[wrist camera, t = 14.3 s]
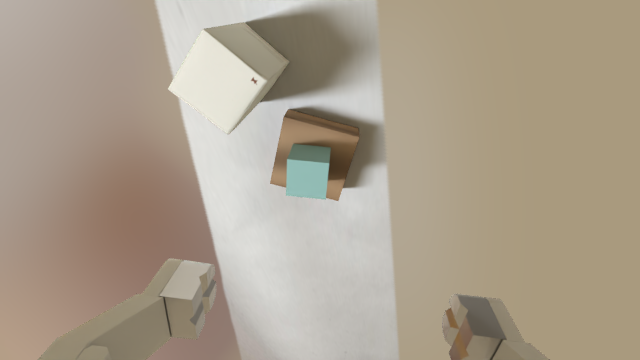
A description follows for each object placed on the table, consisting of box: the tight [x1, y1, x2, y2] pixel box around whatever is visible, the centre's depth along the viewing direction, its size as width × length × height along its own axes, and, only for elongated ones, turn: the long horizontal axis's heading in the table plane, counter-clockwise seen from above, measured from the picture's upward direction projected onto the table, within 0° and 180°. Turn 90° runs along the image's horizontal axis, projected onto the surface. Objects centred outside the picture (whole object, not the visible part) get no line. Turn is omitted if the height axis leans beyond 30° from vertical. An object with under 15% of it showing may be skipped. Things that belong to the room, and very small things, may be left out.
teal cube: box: [286, 144, 331, 199], centre depth 42 cm, size 5×5×5 cm
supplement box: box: [168, 22, 289, 134], centre depth 36 cm, size 7×7×13 cm
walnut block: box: [270, 109, 359, 201], centre depth 45 cm, size 10×10×4 cm
